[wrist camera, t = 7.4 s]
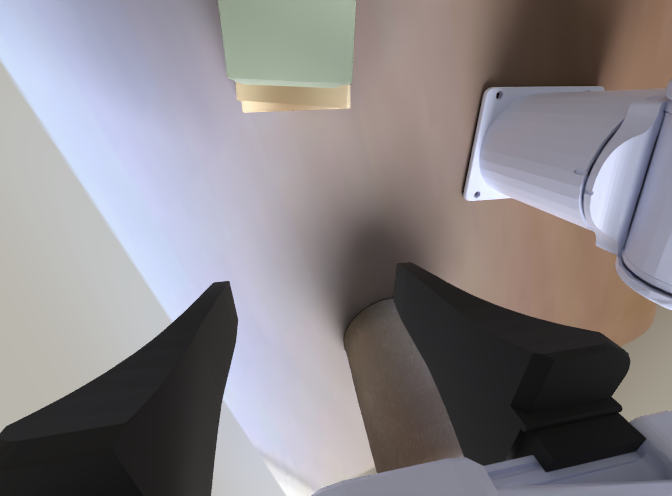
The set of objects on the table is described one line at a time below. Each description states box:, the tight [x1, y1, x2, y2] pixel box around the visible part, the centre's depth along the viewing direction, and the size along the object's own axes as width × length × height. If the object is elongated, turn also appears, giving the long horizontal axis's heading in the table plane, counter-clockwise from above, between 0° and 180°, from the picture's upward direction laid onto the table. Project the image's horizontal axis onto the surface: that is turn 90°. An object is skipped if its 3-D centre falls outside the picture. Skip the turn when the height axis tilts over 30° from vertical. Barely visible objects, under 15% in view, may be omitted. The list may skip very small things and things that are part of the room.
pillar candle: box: [344, 298, 464, 473], centre depth 22 cm, size 10×10×15 cm
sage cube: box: [218, 0, 356, 88], centre depth 10 cm, size 4×4×4 cm
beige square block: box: [236, 82, 348, 108], centre depth 13 cm, size 5×5×3 cm
